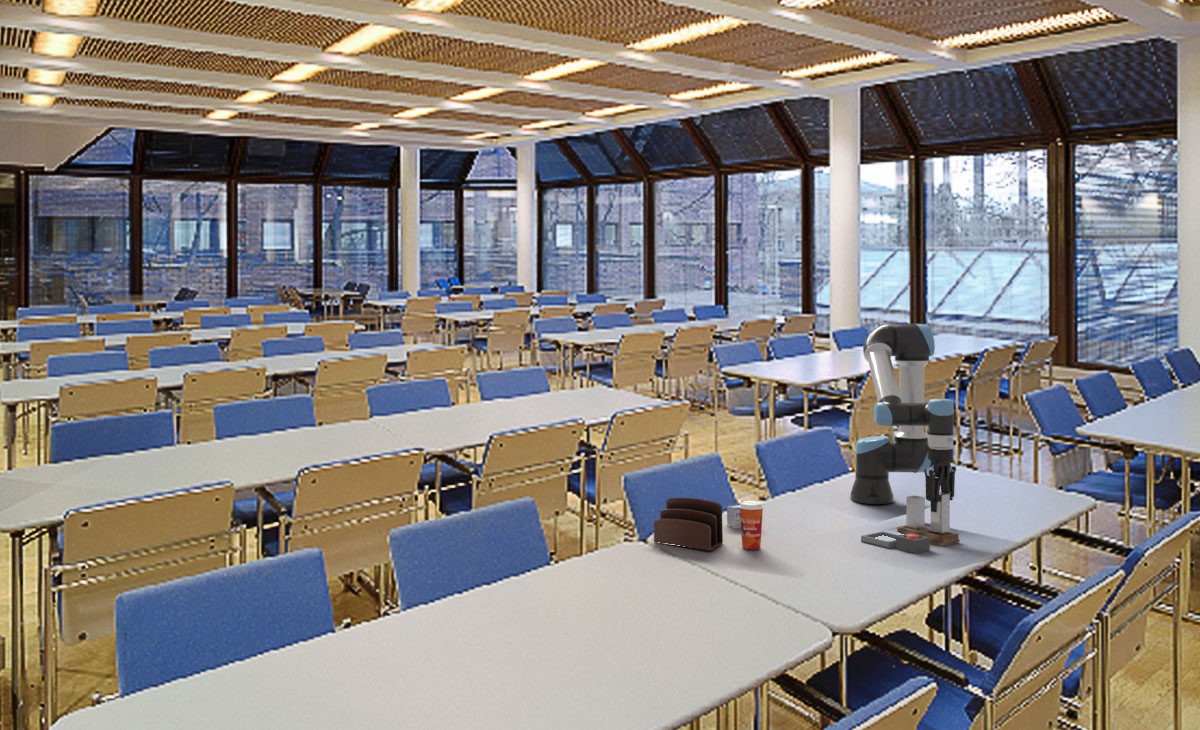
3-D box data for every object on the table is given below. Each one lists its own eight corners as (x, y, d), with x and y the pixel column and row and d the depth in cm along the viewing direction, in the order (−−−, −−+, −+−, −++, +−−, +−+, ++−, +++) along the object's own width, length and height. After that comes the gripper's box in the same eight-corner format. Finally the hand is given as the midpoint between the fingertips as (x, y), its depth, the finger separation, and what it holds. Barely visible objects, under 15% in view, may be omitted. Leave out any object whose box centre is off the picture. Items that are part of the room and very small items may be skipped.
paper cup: (736, 549, 267) (736, 504, 266) (741, 543, 274) (741, 499, 273) (761, 551, 264) (761, 506, 263) (766, 545, 271) (766, 501, 271)
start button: (904, 539, 265) (904, 535, 265) (911, 538, 267) (911, 533, 267) (914, 542, 262) (914, 537, 262) (921, 540, 264) (921, 535, 264)
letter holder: (667, 537, 284) (667, 494, 283) (723, 544, 273) (723, 500, 273) (653, 543, 275) (653, 500, 274) (710, 551, 265) (710, 506, 264)
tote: (860, 541, 275) (860, 535, 275) (882, 537, 281) (882, 531, 281) (888, 548, 266) (888, 542, 266) (910, 543, 272) (910, 537, 272)
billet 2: (930, 530, 274) (930, 493, 273) (938, 529, 276) (938, 491, 276) (941, 533, 271) (942, 495, 270) (949, 531, 273) (949, 493, 272)
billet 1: (906, 533, 282) (906, 496, 281) (913, 531, 284) (914, 495, 283) (916, 535, 278) (917, 498, 278) (924, 533, 280) (924, 497, 280)
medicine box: (734, 533, 287) (734, 508, 286) (726, 531, 291) (726, 505, 290) (753, 531, 290) (753, 505, 290) (745, 528, 294) (745, 503, 294)
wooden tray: (896, 536, 282) (896, 527, 282) (913, 532, 287) (913, 523, 287) (942, 546, 268) (942, 537, 268) (959, 542, 273) (959, 533, 273)
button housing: (895, 549, 265) (896, 536, 265) (910, 545, 269) (910, 533, 269) (915, 553, 260) (915, 540, 259) (929, 550, 263) (929, 537, 263)
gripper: (934, 451, 264) (933, 526, 265) (967, 446, 274) (966, 519, 275) (913, 448, 271) (912, 522, 272) (946, 444, 280) (945, 515, 281)
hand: (939, 520), depth 273 cm, fingers closed on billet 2, 4 cm apart
